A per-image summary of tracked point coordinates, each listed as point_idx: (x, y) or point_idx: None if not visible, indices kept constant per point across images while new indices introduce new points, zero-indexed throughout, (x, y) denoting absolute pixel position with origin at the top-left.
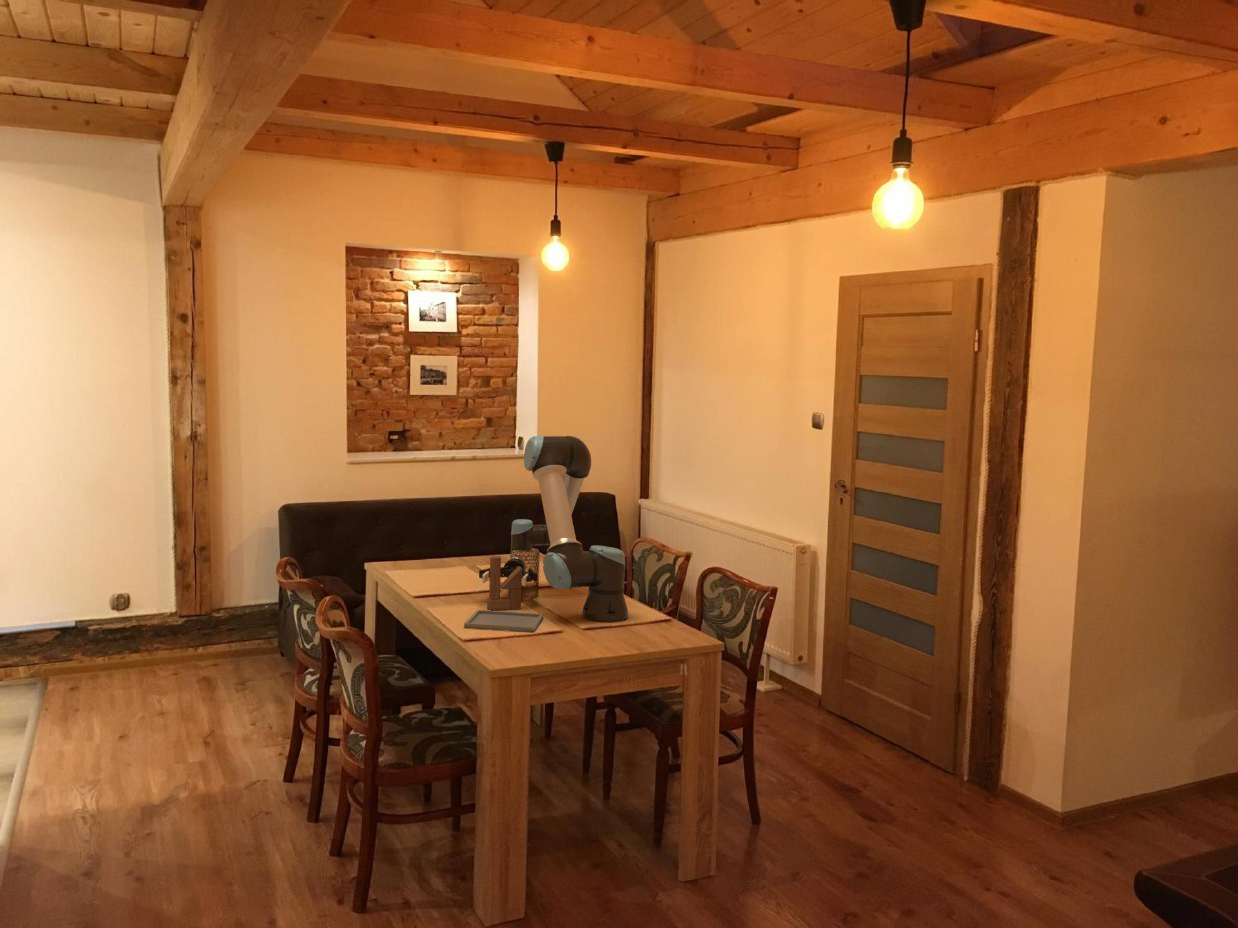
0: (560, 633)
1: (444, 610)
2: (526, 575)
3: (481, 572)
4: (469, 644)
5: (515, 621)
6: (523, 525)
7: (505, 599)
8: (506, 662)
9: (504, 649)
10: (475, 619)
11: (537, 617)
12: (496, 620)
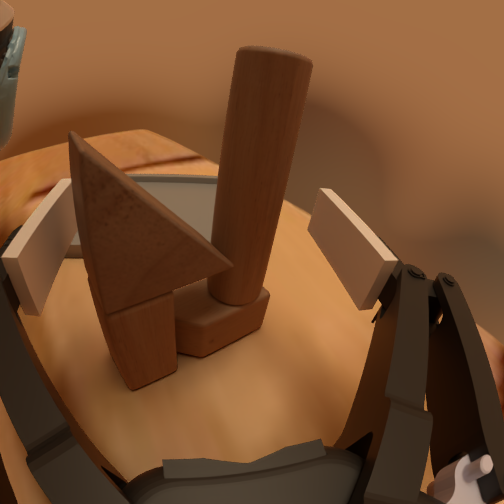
0: (38, 189)
1: None
2: (33, 216)
3: (429, 280)
4: (188, 151)
5: None
6: None
7: (177, 290)
8: (132, 134)
9: (137, 147)
10: None
11: None
12: (172, 210)
